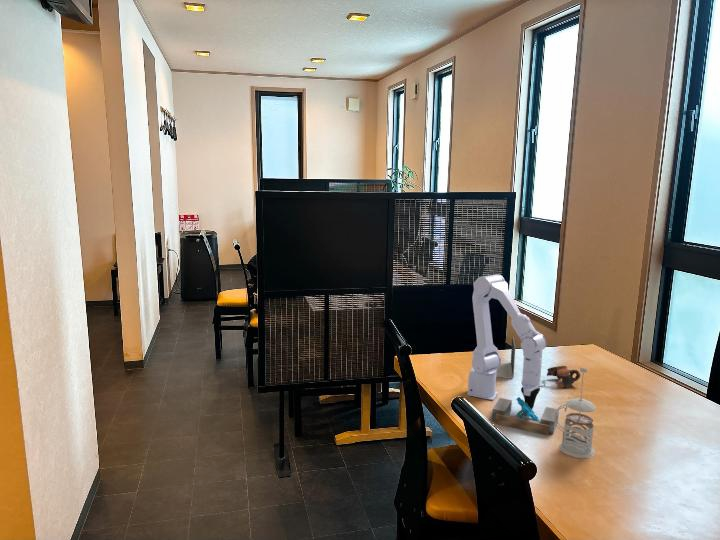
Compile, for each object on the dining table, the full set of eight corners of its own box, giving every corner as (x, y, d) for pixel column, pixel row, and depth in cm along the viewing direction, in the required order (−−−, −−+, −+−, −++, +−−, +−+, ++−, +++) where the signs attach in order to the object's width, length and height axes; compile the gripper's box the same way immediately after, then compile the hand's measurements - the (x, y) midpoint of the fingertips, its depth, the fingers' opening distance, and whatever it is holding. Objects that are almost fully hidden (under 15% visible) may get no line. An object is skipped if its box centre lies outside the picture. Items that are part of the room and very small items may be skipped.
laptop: (481, 361, 226) (483, 332, 224) (511, 364, 223) (513, 334, 221) (481, 376, 209) (482, 345, 206) (513, 379, 206) (515, 347, 204)
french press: (592, 461, 145) (600, 376, 141) (549, 450, 151) (555, 368, 147) (597, 446, 153) (605, 365, 149) (556, 436, 159) (562, 358, 155)
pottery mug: (550, 389, 197) (545, 367, 200) (550, 391, 205) (544, 370, 208) (584, 384, 194) (578, 362, 197) (582, 386, 202) (576, 365, 205)
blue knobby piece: (542, 425, 163) (520, 400, 164) (527, 436, 164) (505, 411, 166) (539, 415, 173) (518, 391, 175) (526, 425, 175) (505, 402, 176)
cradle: (490, 422, 168) (491, 410, 168) (499, 408, 178) (499, 397, 178) (552, 436, 159) (553, 423, 159) (558, 421, 170) (558, 409, 169)
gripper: (540, 379, 165) (537, 419, 167) (548, 365, 178) (545, 402, 180) (518, 375, 168) (515, 414, 171) (526, 361, 181) (524, 398, 183)
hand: (529, 408), depth 176 cm, fingers closed
